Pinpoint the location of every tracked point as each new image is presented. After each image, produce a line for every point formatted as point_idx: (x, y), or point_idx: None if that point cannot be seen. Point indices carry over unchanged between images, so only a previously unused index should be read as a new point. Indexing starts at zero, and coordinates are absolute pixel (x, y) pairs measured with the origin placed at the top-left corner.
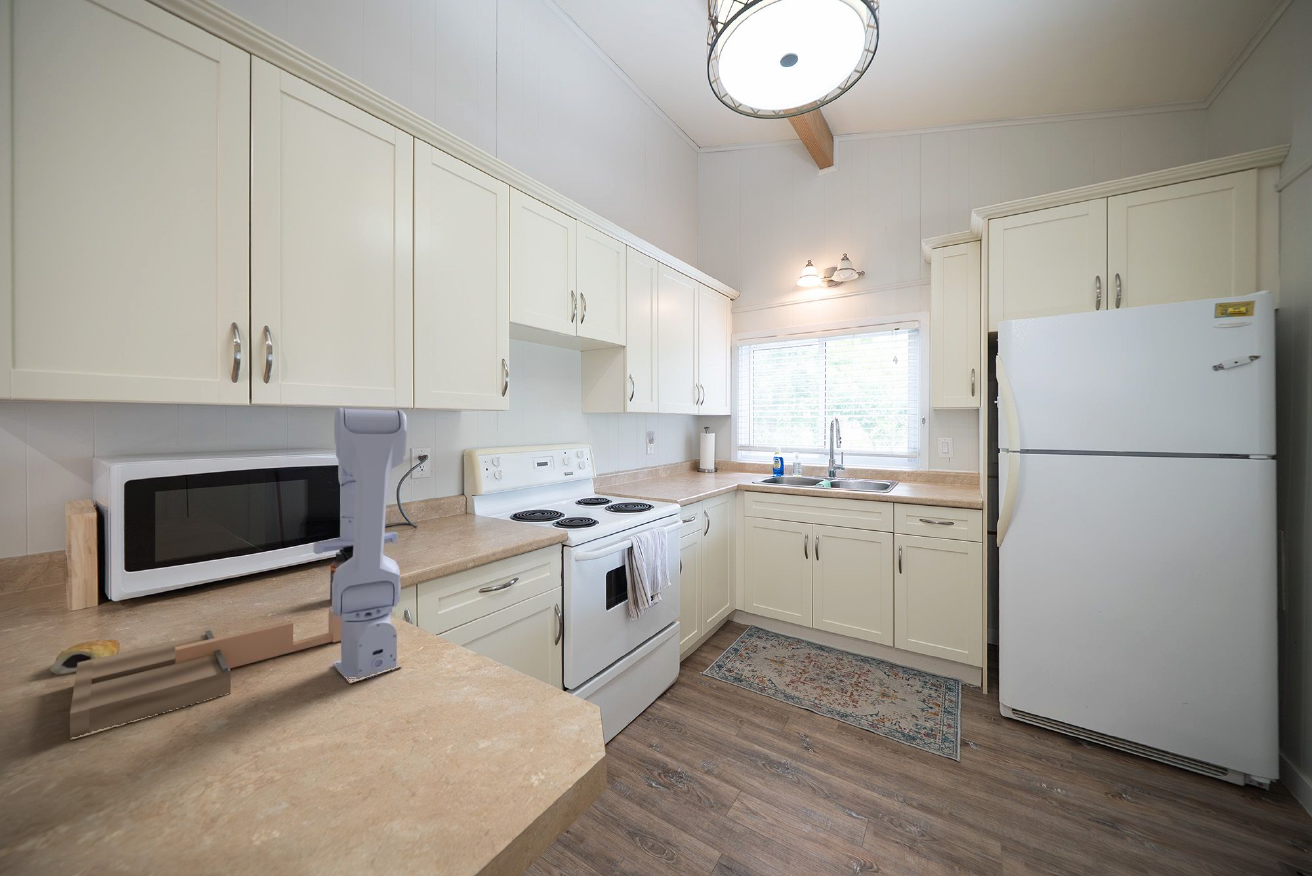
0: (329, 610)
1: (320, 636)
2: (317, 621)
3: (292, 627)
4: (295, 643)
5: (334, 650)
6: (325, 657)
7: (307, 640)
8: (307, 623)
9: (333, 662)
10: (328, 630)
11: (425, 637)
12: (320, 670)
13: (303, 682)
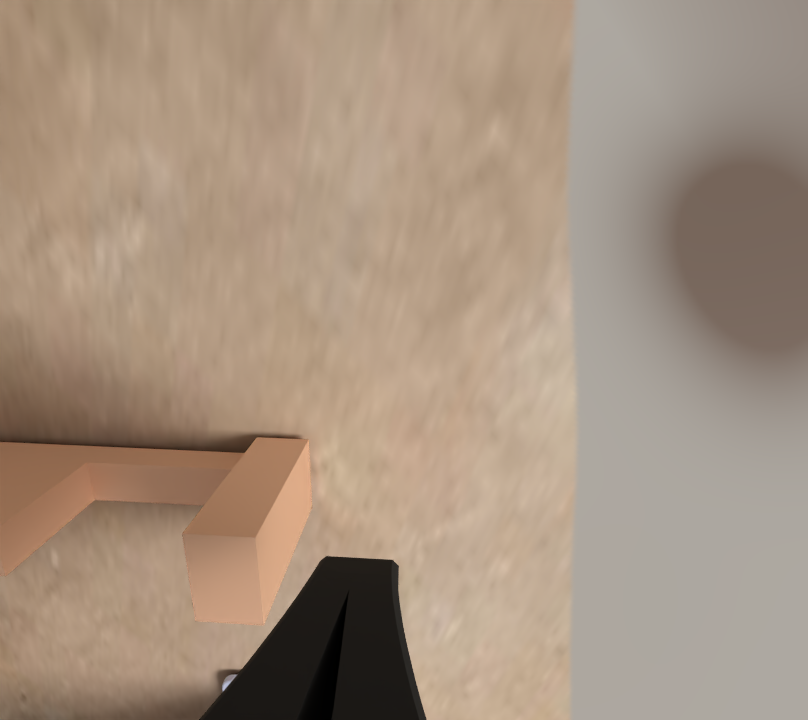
0: (188, 548)
1: (204, 487)
2: (266, 75)
3: (23, 557)
4: (104, 489)
5: None
6: None
7: (150, 493)
8: (212, 67)
9: (224, 685)
10: (242, 458)
11: (565, 685)
12: (191, 671)
13: (140, 707)
